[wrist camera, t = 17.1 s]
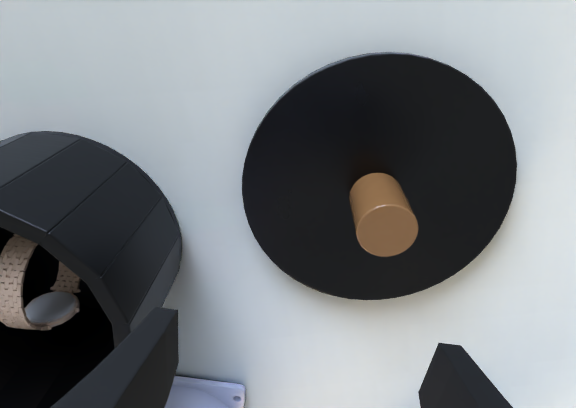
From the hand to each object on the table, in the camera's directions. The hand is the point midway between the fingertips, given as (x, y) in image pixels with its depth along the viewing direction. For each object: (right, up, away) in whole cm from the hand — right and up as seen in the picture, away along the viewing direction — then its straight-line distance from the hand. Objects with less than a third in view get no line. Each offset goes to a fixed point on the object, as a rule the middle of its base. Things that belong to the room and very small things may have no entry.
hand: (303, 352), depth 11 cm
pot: (-12, +3, +10) cm, 16 cm away
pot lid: (+4, +5, +8) cm, 10 cm away
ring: (-12, +2, +10) cm, 16 cm away
